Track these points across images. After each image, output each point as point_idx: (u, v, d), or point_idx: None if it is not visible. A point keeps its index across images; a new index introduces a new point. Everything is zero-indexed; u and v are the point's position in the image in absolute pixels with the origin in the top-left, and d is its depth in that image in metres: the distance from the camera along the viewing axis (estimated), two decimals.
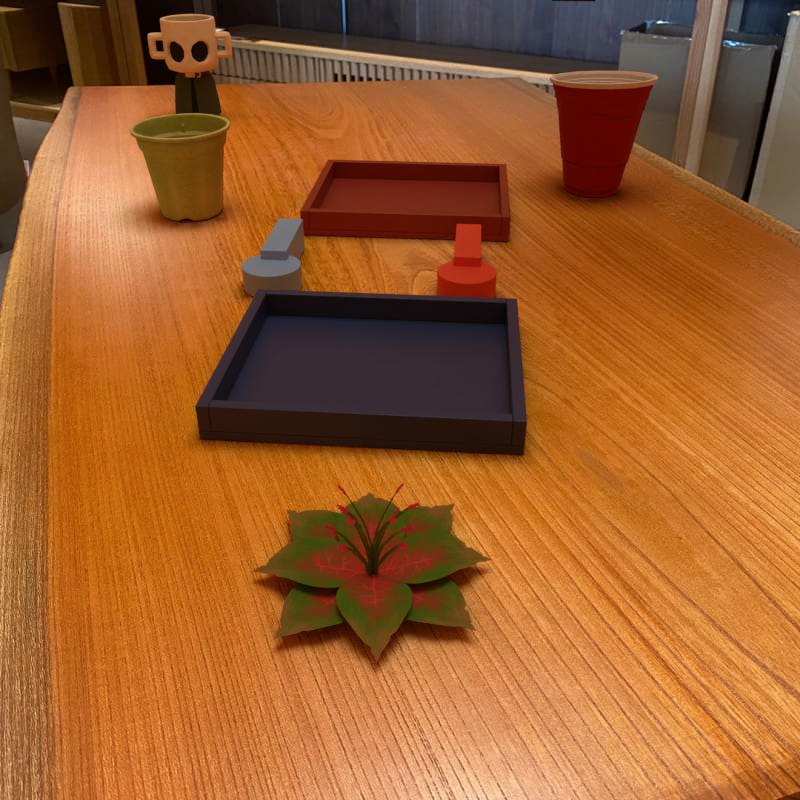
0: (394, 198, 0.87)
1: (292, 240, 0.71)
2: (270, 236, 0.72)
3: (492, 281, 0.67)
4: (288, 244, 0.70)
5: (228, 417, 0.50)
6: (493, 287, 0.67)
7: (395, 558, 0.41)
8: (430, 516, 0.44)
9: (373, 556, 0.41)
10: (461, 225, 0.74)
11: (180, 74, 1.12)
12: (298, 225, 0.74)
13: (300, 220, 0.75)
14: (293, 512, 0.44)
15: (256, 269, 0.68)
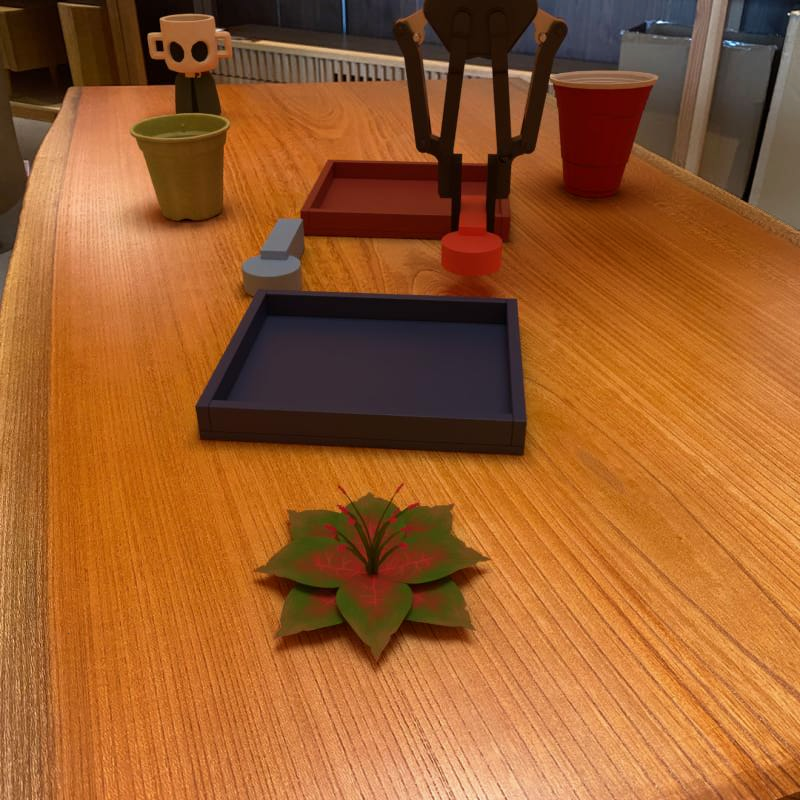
0: (394, 198, 0.87)
1: (292, 240, 0.71)
2: (270, 236, 0.72)
3: (498, 250, 0.65)
4: (288, 244, 0.70)
5: (228, 417, 0.50)
6: (499, 256, 0.66)
7: (395, 558, 0.41)
8: (430, 516, 0.44)
9: (373, 556, 0.41)
10: (466, 196, 0.73)
11: (180, 74, 1.12)
12: (298, 225, 0.74)
13: (300, 220, 0.75)
14: (293, 512, 0.44)
15: (256, 269, 0.68)
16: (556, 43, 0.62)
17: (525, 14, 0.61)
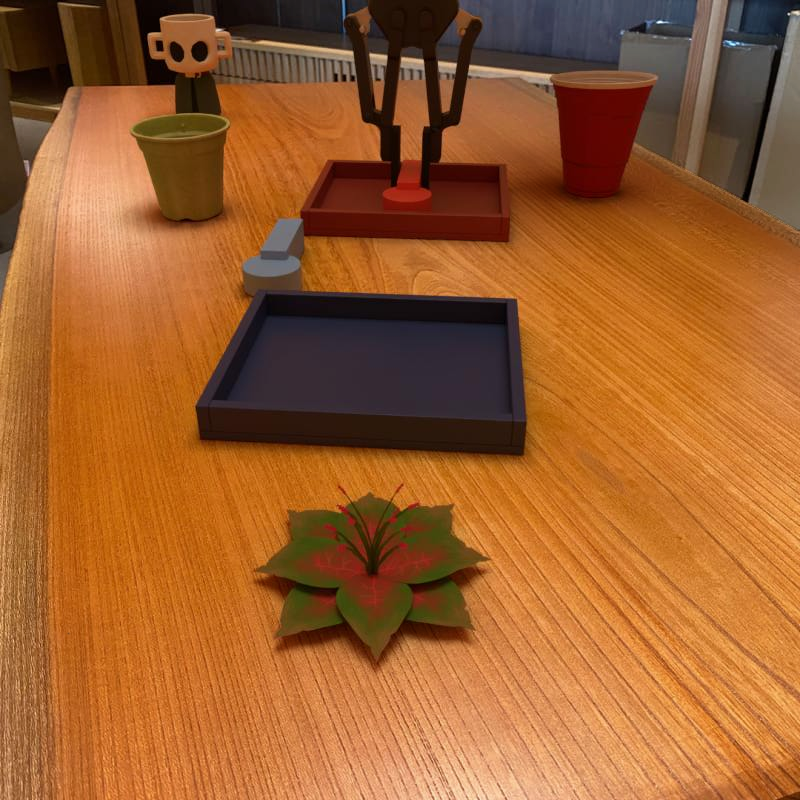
0: None
1: (292, 240, 0.71)
2: (270, 236, 0.72)
3: (427, 200, 0.81)
4: (288, 244, 0.70)
5: (228, 417, 0.50)
6: (428, 206, 0.82)
7: (395, 558, 0.41)
8: (430, 516, 0.44)
9: (373, 556, 0.41)
10: (406, 160, 0.89)
11: (180, 74, 1.12)
12: (298, 225, 0.74)
13: (300, 220, 0.75)
14: (293, 512, 0.44)
15: (256, 269, 0.68)
16: (473, 36, 0.78)
17: (448, 13, 0.77)
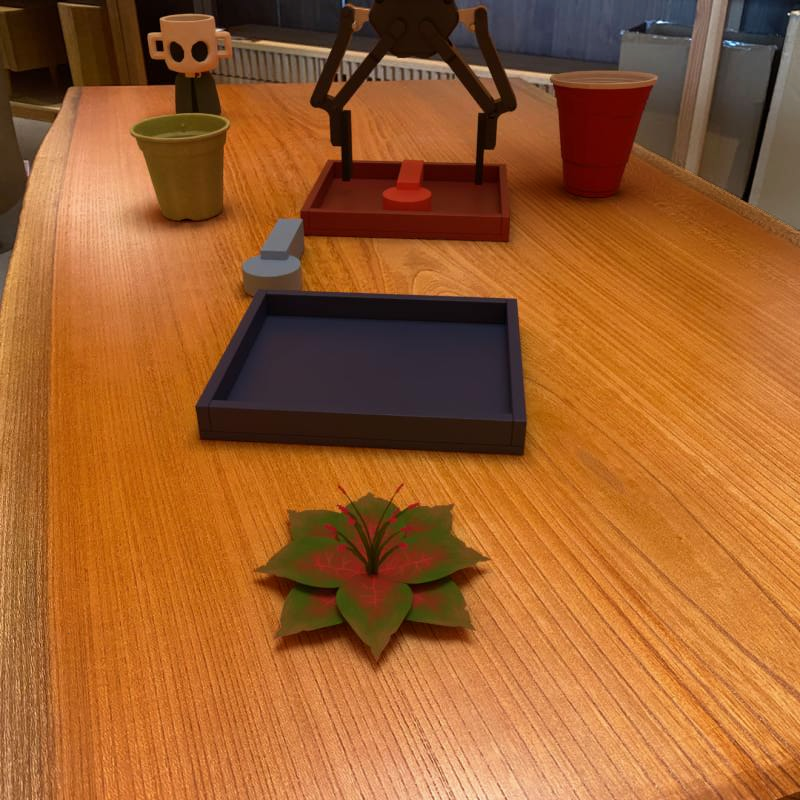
0: None
1: (292, 240, 0.71)
2: (270, 236, 0.72)
3: (427, 200, 0.81)
4: (288, 244, 0.70)
5: (228, 417, 0.50)
6: (428, 206, 0.82)
7: (395, 558, 0.41)
8: (430, 516, 0.44)
9: (373, 556, 0.41)
10: (406, 160, 0.89)
11: (180, 74, 1.12)
12: (298, 225, 0.74)
13: (300, 220, 0.75)
14: (293, 512, 0.44)
15: (256, 269, 0.68)
16: (484, 24, 0.77)
17: (448, 23, 0.78)
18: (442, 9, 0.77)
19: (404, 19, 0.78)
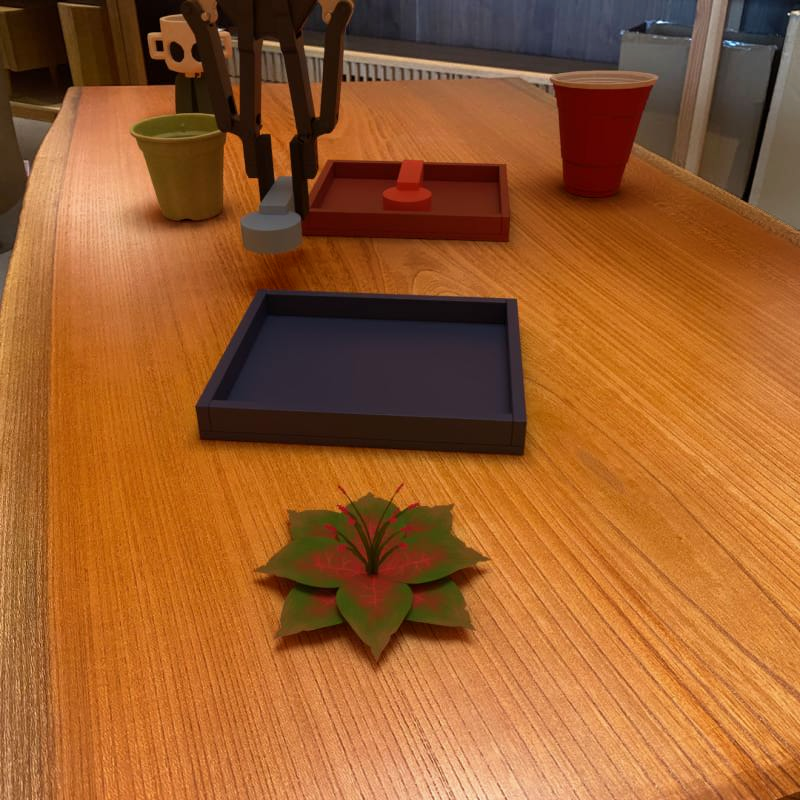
0: None
1: (292, 196, 0.69)
2: (269, 192, 0.70)
3: (427, 200, 0.81)
4: (288, 199, 0.68)
5: (228, 417, 0.50)
6: (428, 206, 0.82)
7: (395, 558, 0.41)
8: (430, 516, 0.44)
9: (373, 556, 0.41)
10: (406, 160, 0.89)
11: (180, 74, 1.12)
12: None
13: None
14: (293, 512, 0.44)
15: (255, 223, 0.66)
16: (341, 22, 0.63)
17: None
18: None
19: None
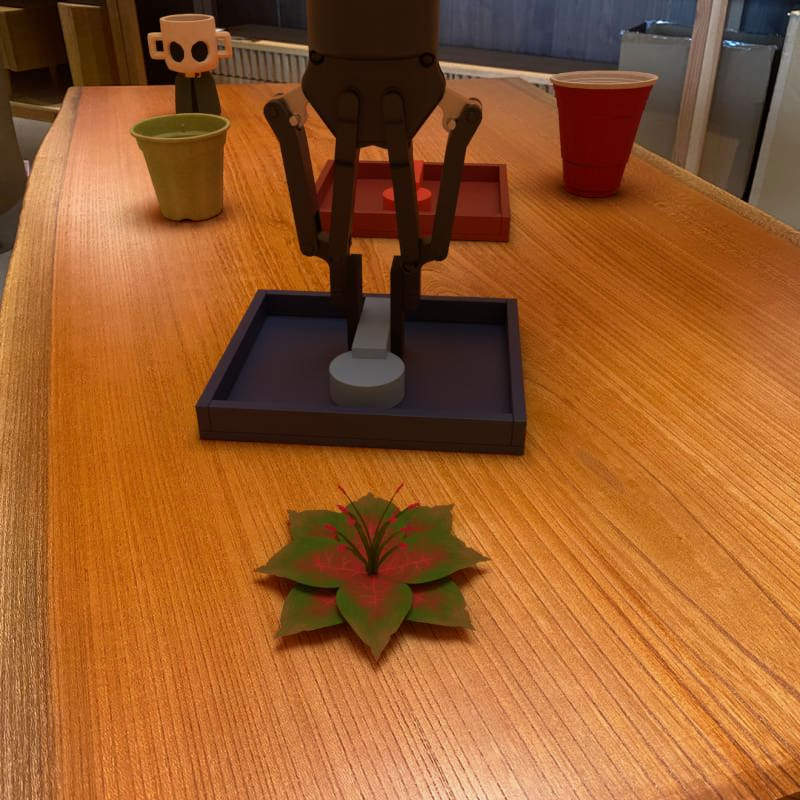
0: None
1: (389, 331, 0.56)
2: (360, 325, 0.56)
3: (427, 200, 0.81)
4: (386, 338, 0.55)
5: (228, 417, 0.50)
6: (428, 206, 0.82)
7: (395, 558, 0.41)
8: (430, 516, 0.44)
9: (373, 556, 0.41)
10: None
11: (180, 74, 1.12)
12: None
13: None
14: (293, 512, 0.44)
15: (349, 374, 0.52)
16: (468, 132, 0.49)
17: (428, 96, 0.49)
18: (426, 74, 0.48)
19: (351, 66, 0.48)
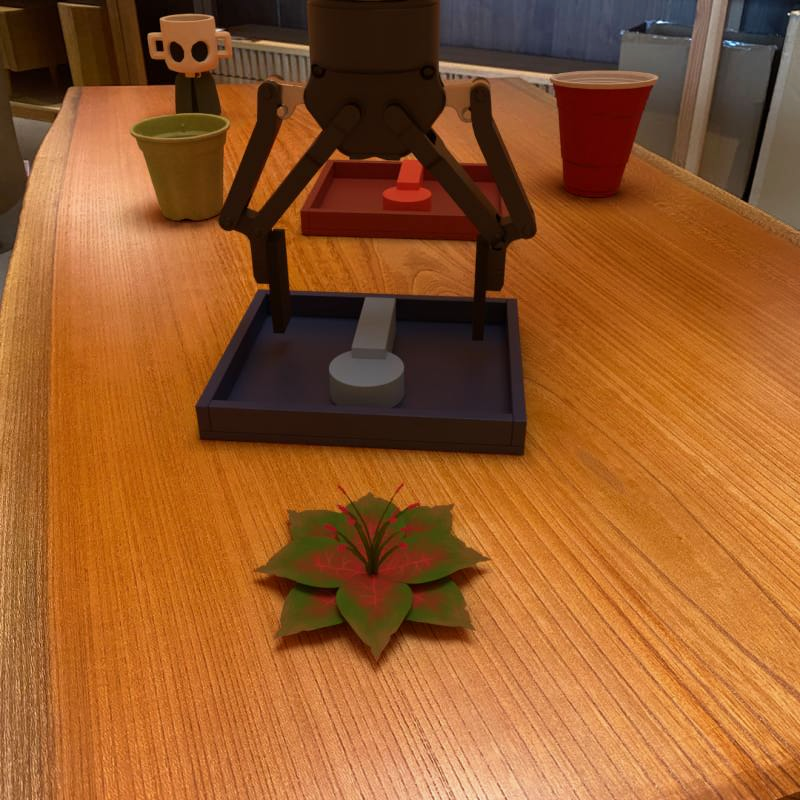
0: None
1: (389, 331, 0.56)
2: (360, 325, 0.56)
3: (427, 200, 0.81)
4: (385, 338, 0.55)
5: (228, 417, 0.50)
6: (428, 206, 0.82)
7: (395, 558, 0.41)
8: (430, 516, 0.44)
9: (373, 556, 0.41)
10: (406, 160, 0.89)
11: (180, 74, 1.12)
12: (392, 308, 0.59)
13: (393, 300, 0.60)
14: (293, 512, 0.44)
15: (349, 374, 0.52)
16: (485, 111, 0.49)
17: (429, 108, 0.49)
18: (419, 87, 0.48)
19: (359, 102, 0.49)
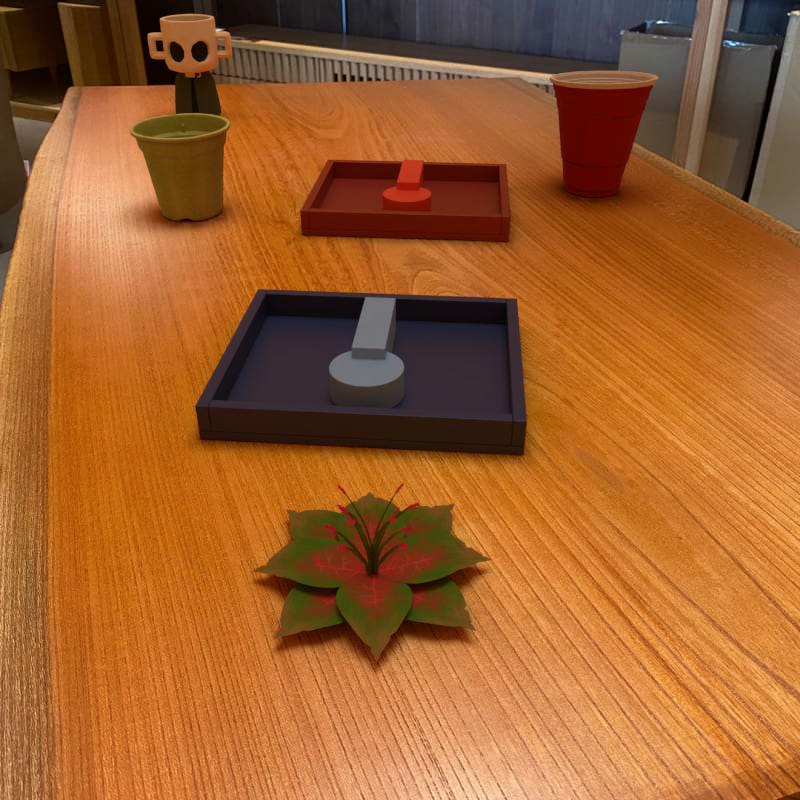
0: None
1: (389, 331, 0.56)
2: (360, 325, 0.56)
3: (427, 200, 0.81)
4: (385, 338, 0.55)
5: (228, 417, 0.50)
6: (428, 206, 0.82)
7: (395, 558, 0.41)
8: (430, 516, 0.44)
9: (373, 556, 0.41)
10: (406, 160, 0.89)
11: (180, 74, 1.12)
12: (392, 308, 0.59)
13: (393, 300, 0.60)
14: (293, 512, 0.44)
15: (349, 374, 0.52)
16: None
17: None
18: None
19: None
